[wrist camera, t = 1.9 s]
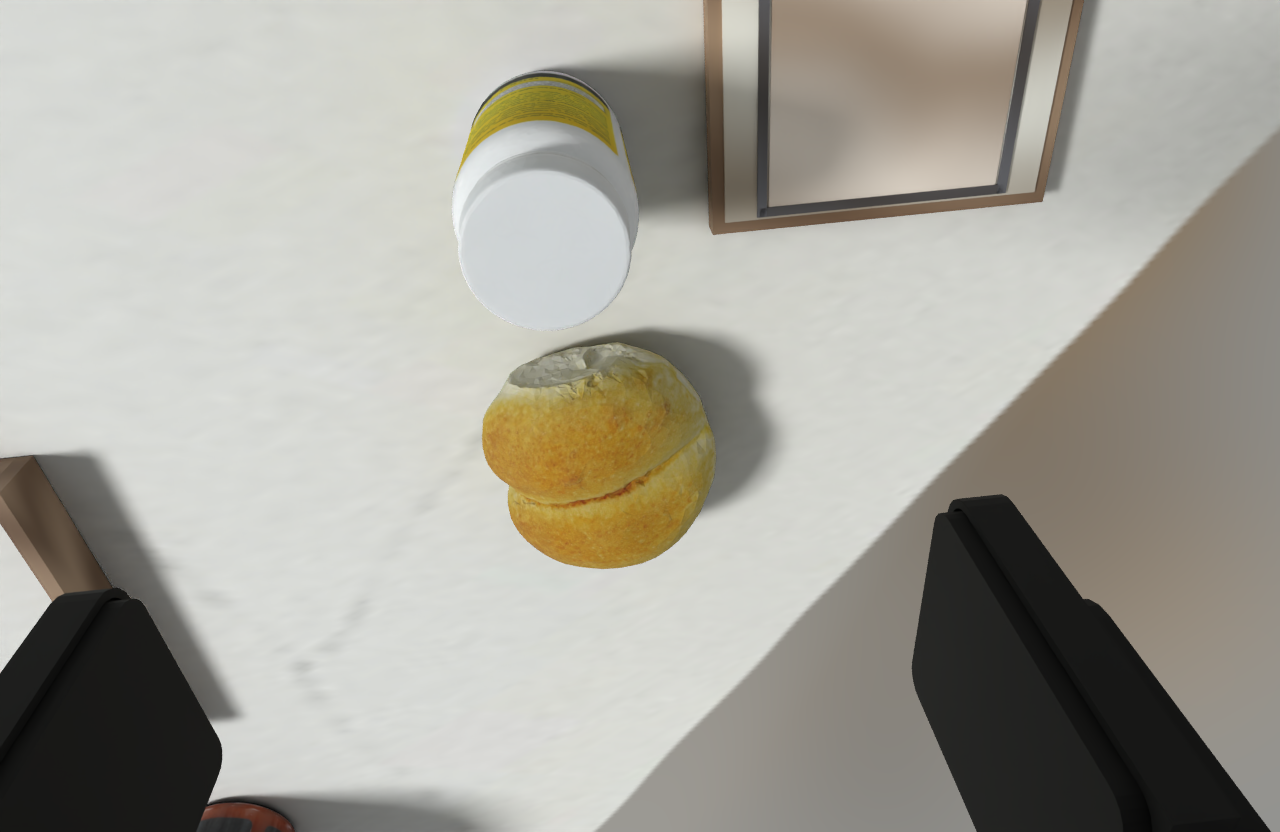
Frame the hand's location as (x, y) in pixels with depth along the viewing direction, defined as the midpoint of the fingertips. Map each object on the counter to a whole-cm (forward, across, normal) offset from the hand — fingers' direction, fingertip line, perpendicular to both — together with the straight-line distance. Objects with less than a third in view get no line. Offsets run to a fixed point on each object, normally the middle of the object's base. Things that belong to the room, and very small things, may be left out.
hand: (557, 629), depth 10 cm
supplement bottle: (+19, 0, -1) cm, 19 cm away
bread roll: (+20, -3, +12) cm, 24 cm away
